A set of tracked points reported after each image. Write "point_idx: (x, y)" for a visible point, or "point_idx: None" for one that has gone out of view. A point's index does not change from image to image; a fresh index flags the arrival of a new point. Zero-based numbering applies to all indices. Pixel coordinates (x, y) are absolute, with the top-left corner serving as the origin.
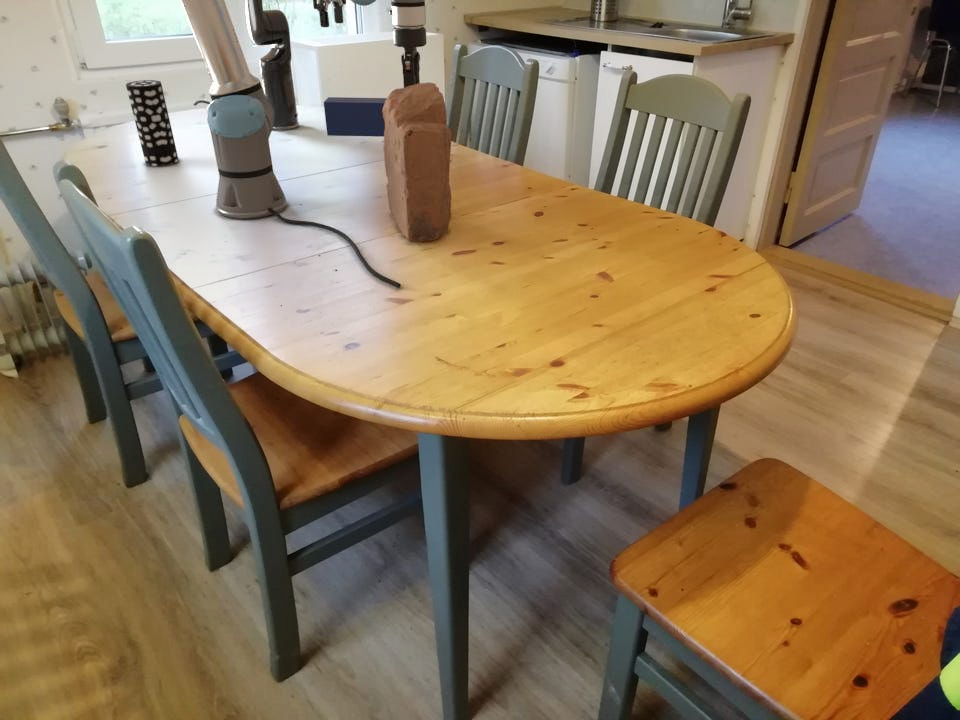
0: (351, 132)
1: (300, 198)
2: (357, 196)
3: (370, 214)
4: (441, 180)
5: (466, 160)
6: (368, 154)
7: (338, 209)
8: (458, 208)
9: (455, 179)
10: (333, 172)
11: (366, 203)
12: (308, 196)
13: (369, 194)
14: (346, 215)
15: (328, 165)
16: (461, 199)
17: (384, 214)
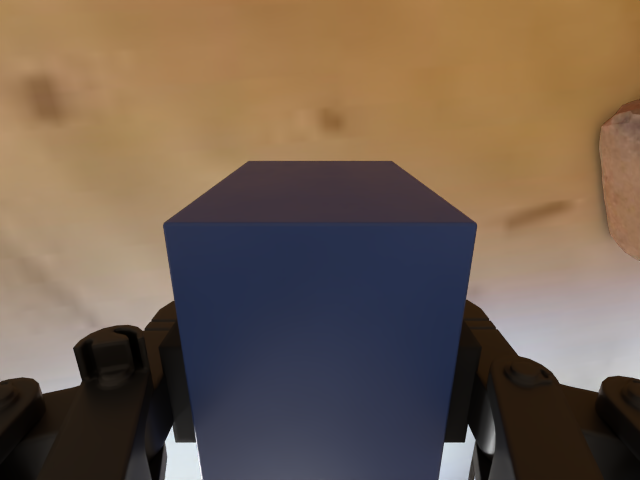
0: None
1: (463, 466)
2: None
3: (615, 297)
4: None
5: (4, 3)
6: (51, 378)
7: (558, 378)
8: (624, 10)
9: (280, 43)
10: None
11: (521, 320)
12: (449, 454)
13: None
14: (609, 353)
15: (189, 456)
16: (525, 2)
17: (624, 261)
